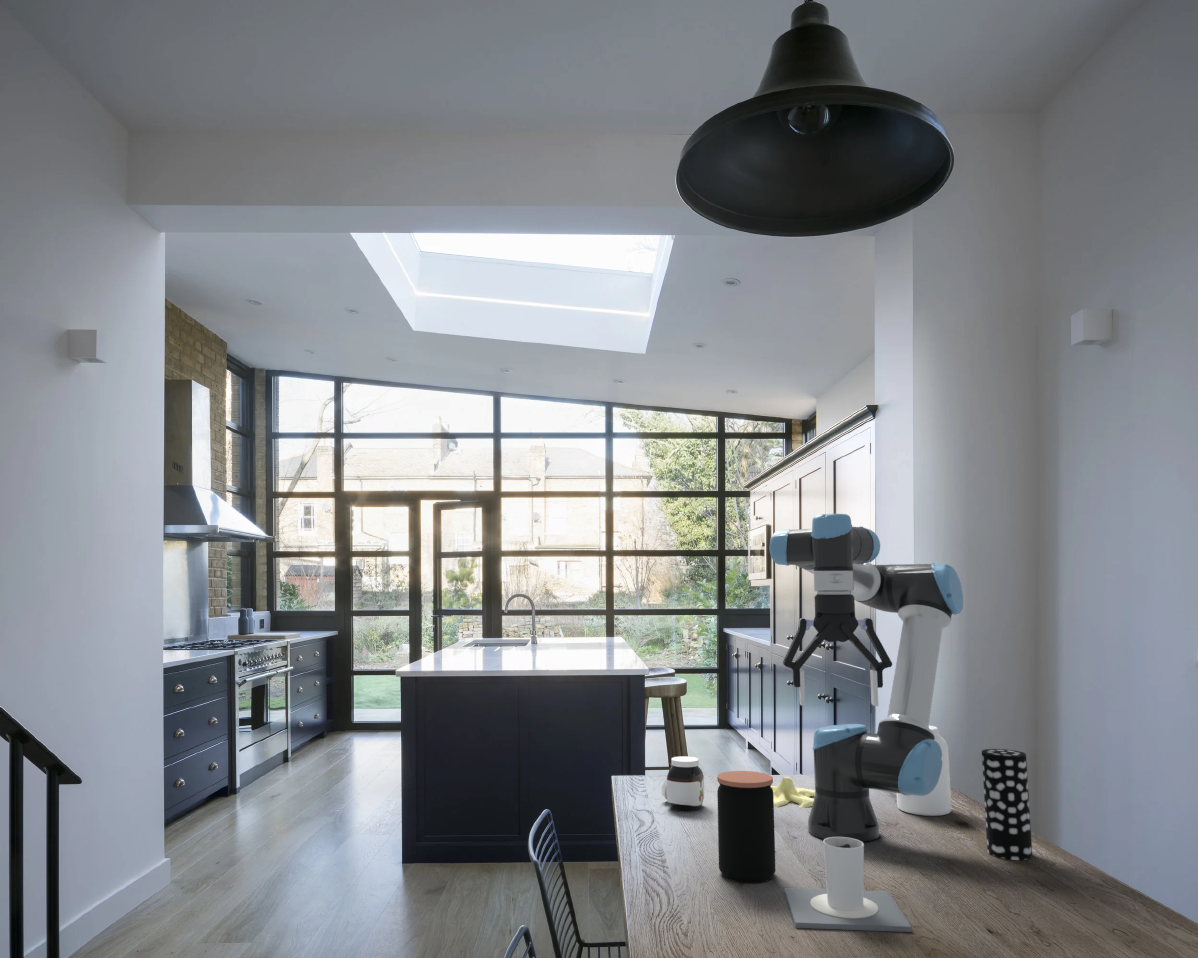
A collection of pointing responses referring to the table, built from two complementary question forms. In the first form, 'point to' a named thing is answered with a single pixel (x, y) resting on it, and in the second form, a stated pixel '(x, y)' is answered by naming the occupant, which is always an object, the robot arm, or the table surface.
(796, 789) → the cloth
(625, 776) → the table surface
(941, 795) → the white bottle
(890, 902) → the board
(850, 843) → the white cup
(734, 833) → the coffee jar
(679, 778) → the spread jar
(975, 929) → the table surface
